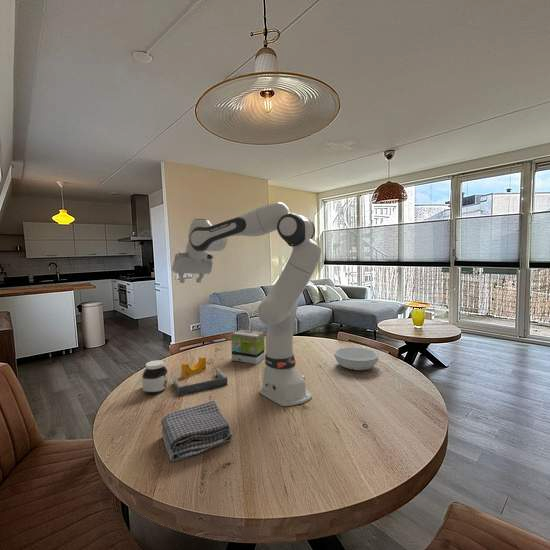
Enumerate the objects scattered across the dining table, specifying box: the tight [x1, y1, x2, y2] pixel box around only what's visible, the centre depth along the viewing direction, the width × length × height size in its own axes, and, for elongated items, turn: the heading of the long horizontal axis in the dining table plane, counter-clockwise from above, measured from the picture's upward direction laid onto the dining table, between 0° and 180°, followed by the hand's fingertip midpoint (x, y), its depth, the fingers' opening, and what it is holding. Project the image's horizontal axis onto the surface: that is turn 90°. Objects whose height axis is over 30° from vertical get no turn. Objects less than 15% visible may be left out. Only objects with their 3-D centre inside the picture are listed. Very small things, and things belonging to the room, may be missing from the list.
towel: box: [161, 400, 234, 462], centre depth 89 cm, size 15×18×8 cm
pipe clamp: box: [181, 355, 207, 379], centre depth 140 cm, size 12×4×6 cm, turn 143°
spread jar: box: [140, 360, 169, 395], centre depth 123 cm, size 12×11×12 cm
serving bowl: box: [334, 346, 379, 371], centre depth 146 cm, size 21×21×7 cm
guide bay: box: [172, 367, 228, 396], centre depth 128 cm, size 13×20×3 cm, turn 118°
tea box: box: [230, 329, 265, 365], centre depth 157 cm, size 15×10×15 cm, turn 67°
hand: (190, 282), depth 139 cm, fingers open, 8 cm apart
